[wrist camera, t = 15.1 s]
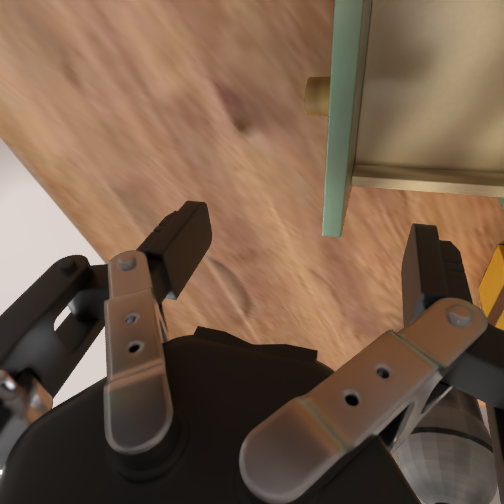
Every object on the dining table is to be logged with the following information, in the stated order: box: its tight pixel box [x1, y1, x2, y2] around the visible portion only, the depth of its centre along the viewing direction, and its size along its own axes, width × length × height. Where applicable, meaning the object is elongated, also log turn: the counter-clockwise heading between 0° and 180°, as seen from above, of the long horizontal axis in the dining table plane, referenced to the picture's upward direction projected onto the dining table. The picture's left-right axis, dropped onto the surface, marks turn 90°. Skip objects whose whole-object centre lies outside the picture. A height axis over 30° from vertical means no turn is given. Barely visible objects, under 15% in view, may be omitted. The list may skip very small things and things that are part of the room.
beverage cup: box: [397, 387, 498, 504], centre depth 28 cm, size 7×7×20 cm
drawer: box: [305, 0, 504, 237], centre depth 18 cm, size 17×15×8 cm
